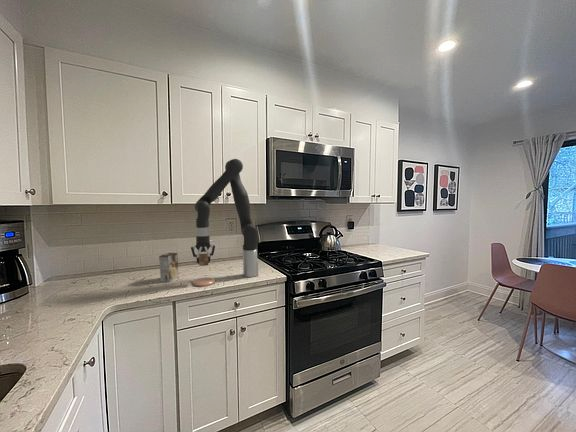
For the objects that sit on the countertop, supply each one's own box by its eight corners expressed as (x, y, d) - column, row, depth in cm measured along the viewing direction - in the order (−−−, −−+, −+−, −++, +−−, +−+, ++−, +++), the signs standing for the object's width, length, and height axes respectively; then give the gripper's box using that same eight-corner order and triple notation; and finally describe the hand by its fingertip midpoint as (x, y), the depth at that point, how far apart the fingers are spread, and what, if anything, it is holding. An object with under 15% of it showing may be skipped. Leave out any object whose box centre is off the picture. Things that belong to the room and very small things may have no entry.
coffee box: (170, 276, 165) (168, 252, 163) (178, 277, 163) (177, 252, 162) (160, 281, 156) (158, 255, 154) (169, 282, 154) (168, 256, 153)
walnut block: (207, 263, 155) (207, 253, 154) (208, 265, 150) (208, 255, 150) (199, 263, 153) (198, 254, 153) (199, 266, 148) (199, 255, 148)
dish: (213, 278, 160) (213, 276, 160) (215, 285, 149) (215, 282, 149) (193, 281, 156) (193, 278, 156) (193, 287, 145) (193, 285, 145)
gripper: (214, 233, 156) (215, 260, 157) (189, 234, 151) (190, 262, 152) (215, 235, 149) (216, 263, 150) (189, 236, 144) (190, 265, 145)
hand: (203, 262), depth 151 cm, fingers closed on walnut block, 5 cm apart
